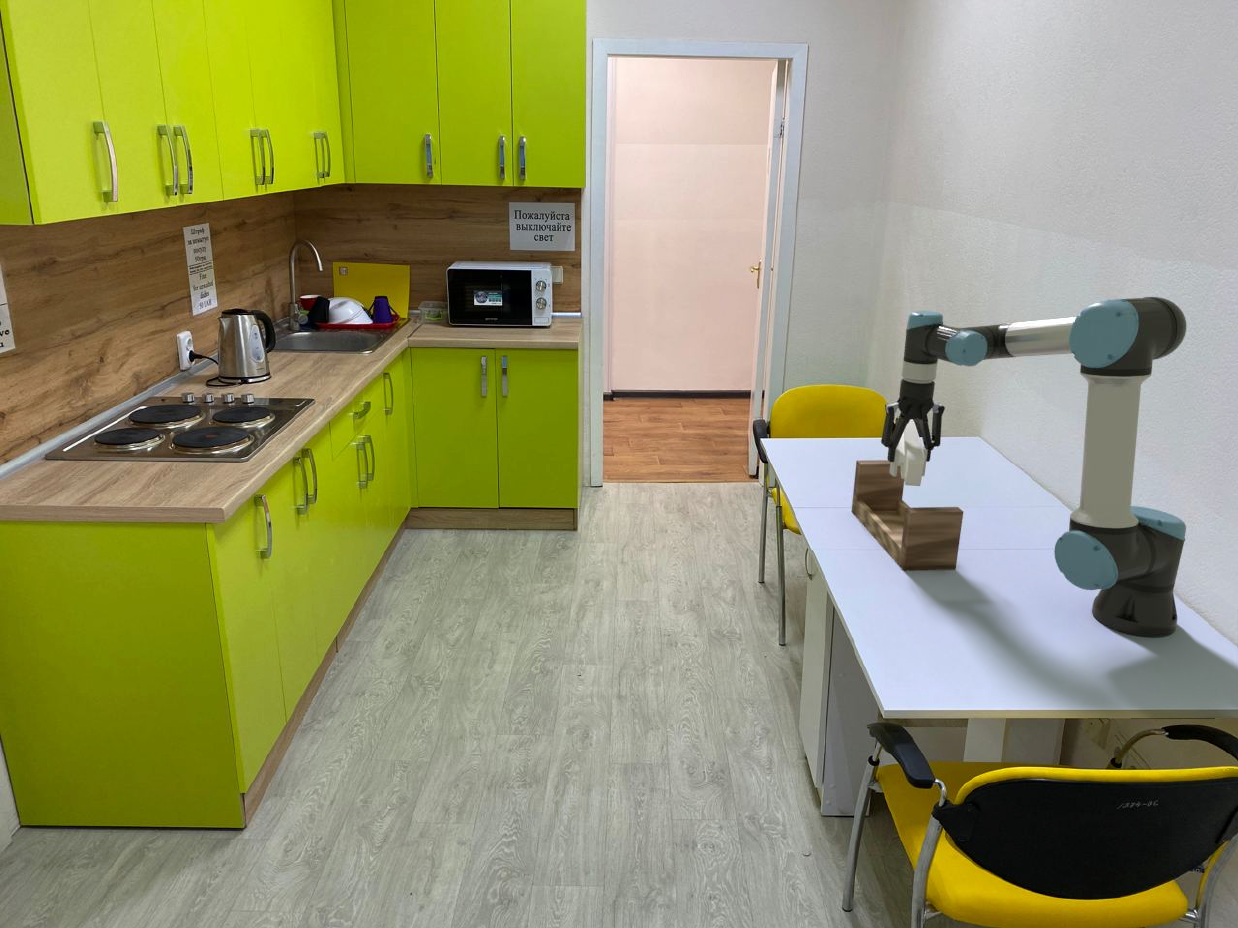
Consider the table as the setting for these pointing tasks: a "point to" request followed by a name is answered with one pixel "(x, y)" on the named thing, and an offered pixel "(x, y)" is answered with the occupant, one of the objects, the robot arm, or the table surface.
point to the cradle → (905, 520)
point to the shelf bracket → (911, 455)
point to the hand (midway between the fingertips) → (906, 474)
